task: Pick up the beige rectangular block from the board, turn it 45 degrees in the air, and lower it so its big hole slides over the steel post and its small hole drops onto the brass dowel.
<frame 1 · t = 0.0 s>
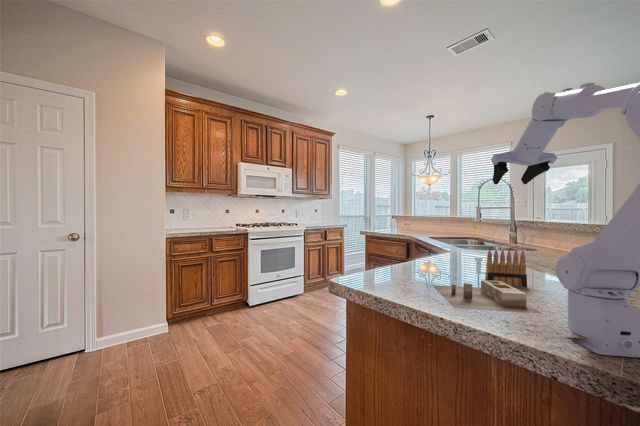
hand: (509, 181, 75), 32 cm above the countertop, tool tilted 50°, fingers open, 7 cm apart
post board: (478, 302, 67), on the countertop
beige rectangular block: (501, 298, 66), point 1 cm above the countertop, touching post board
ammunition clip: (505, 290, 79), on the countertop
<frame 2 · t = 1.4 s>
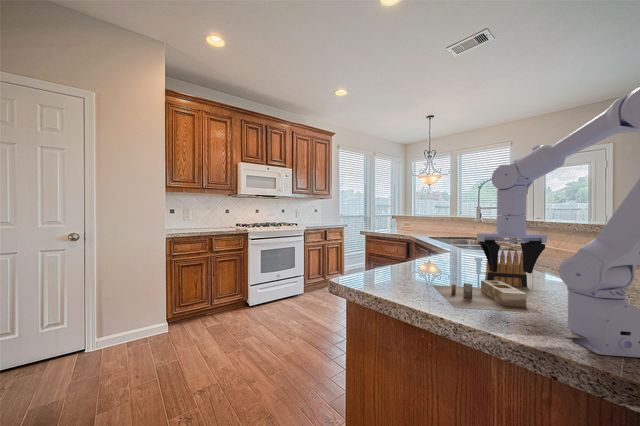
hand: (510, 271, 63), 9 cm above the countertop, tool pointing down, fingers open, 7 cm apart
nothing on the countertop moved.
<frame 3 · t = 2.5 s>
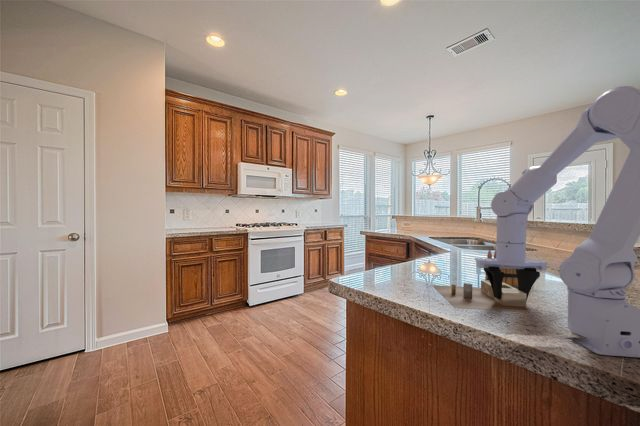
hand: (509, 298, 63), 3 cm above the countertop, tool pointing down, fingers closed on beige rectangular block, 5 cm apart
beige rectangular block: (501, 298, 66), point 1 cm above the countertop, touching gripper, post board
everything else where it was.
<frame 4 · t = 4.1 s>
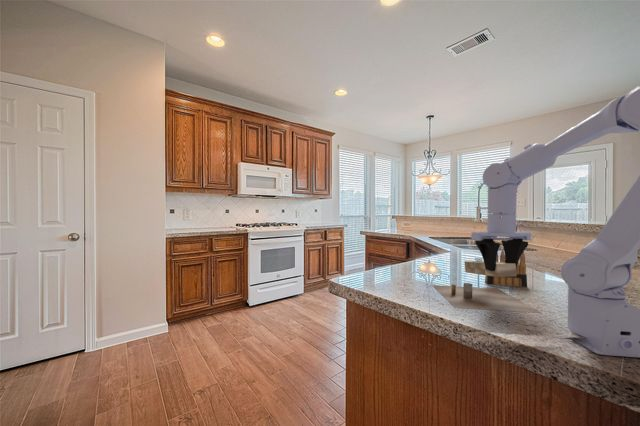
hand: (500, 269, 63), 9 cm above the countertop, tool pointing down, fingers closed on beige rectangular block, 5 cm apart
beige rectangular block: (489, 274, 66), point 8 cm above the countertop, tilted 8°, touching gripper
everything else where it was.
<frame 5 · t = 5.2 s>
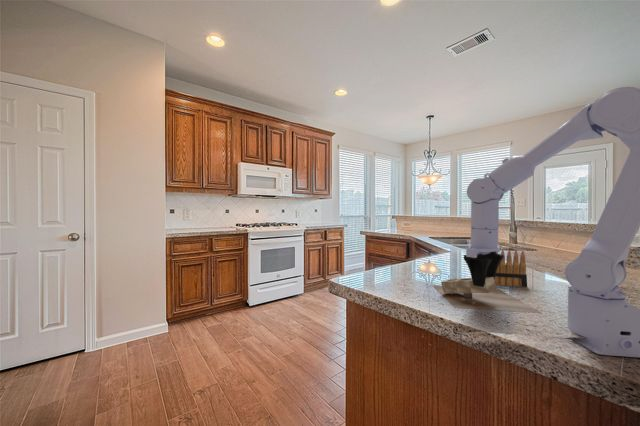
hand: (483, 283, 63), 6 cm above the countertop, tool pointing down, fingers closed on beige rectangular block, 5 cm apart
beige rectangular block: (469, 291, 66), point 3 cm above the countertop, tilted 15°, touching gripper
everything else where it was.
when the fingers open (4 cm above the countertop, at t = 6.1 s): beige rectangular block stays where it is, resting on post board.
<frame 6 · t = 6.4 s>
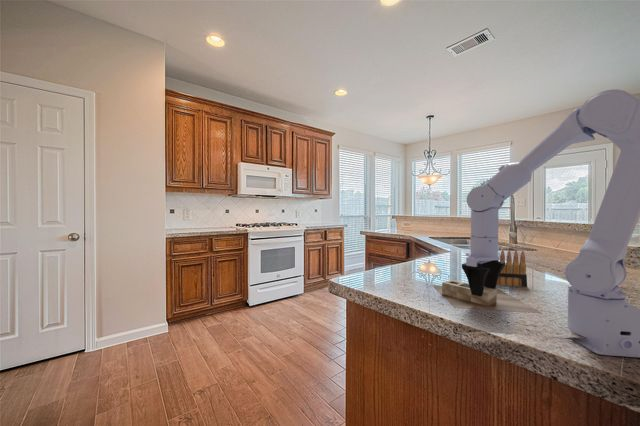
hand: (483, 292, 63), 4 cm above the countertop, tool pointing down, fingers open, 7 cm apart
beige rectangular block: (468, 297, 66), point 1 cm above the countertop, touching post board
everything else where it was.
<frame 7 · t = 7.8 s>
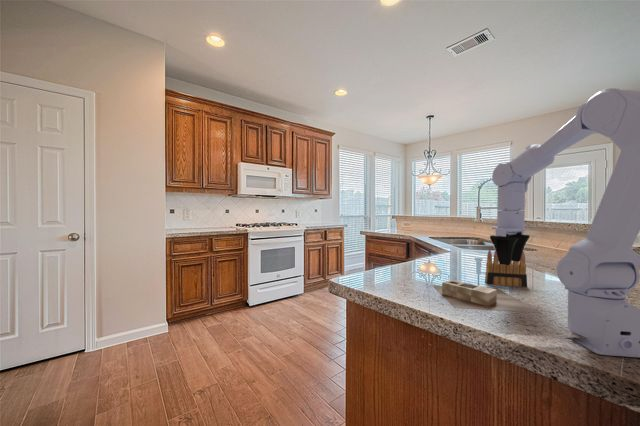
hand: (509, 262, 67), 10 cm above the countertop, tool pointing down, fingers open, 7 cm apart
nothing on the countertop moved.
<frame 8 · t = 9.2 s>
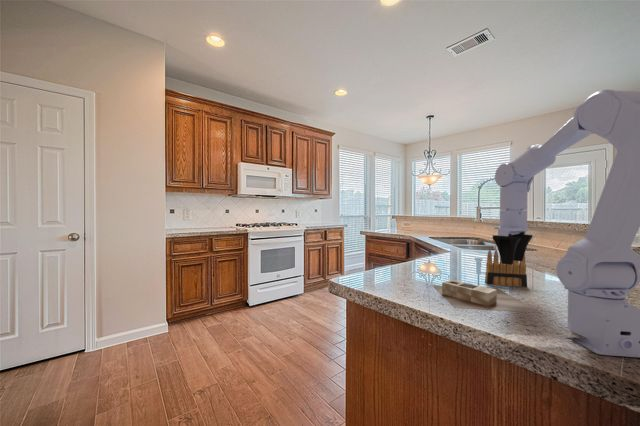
hand: (512, 262, 68), 10 cm above the countertop, tool pointing down, fingers open, 7 cm apart
nothing on the countertop moved.
at the end: beige rectangular block 0.1 cm from the target spot on the post board, point 1.5 cm above the post board's base; beige rectangular block tilted 0°; the gripper is holding nothing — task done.
